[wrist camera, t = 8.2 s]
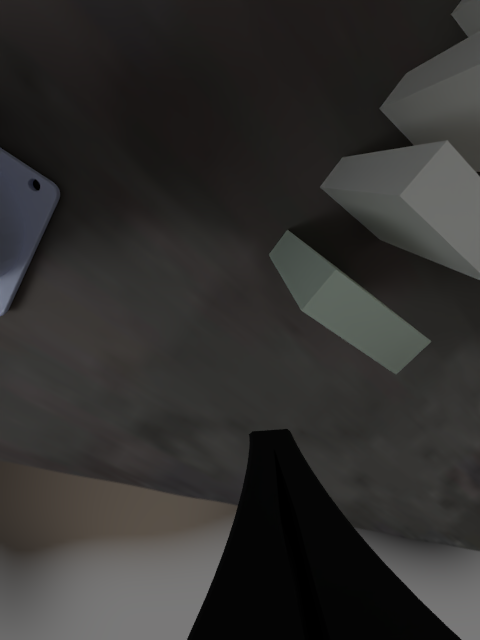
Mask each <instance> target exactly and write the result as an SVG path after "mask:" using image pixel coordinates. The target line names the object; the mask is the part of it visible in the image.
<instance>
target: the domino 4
mask: <svg viewBox="0 0 480 640" xmlns="http://www.w3.org/2000/svg"><path fill="white" fill-rule="evenodd" d="M451 15H452V16H453V18H454V19H455V20H456V22H457V23H458V24H459V26H460V27H461V28H462V29H463V31H464V32H465V33H466V35H467V36H468V37H470V36H472V35H474V34H475V33H477V32H479V31H480V0H461V2H460V3H459V4H458V6H457V7H456V8H455V10H454V11H453V12H452V13H451Z"/></svg>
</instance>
